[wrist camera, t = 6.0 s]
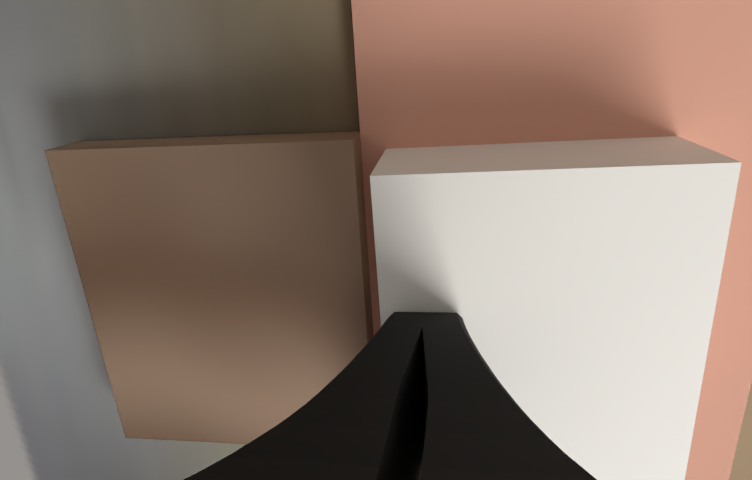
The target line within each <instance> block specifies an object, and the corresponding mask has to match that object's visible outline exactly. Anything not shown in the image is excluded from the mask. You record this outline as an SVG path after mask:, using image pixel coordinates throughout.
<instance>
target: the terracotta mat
mask: <svg viewBox="0 0 752 480" xmlns="http://www.w3.org/2000/svg"><path fill="white" fill-rule="evenodd" d="M351 5H352V20H353V35H354V50H355V65H356V80H357V95H358V110H359V125H360V140H361V155H362V170H363V185H364V200H365V215H366V230H367V245H368V260H369V275H370V290H371V305H372V319H373V334H374V335H375V334H376V332H377V331H378V330H379V329H380V328H381V319H380V306H379V292H378V279H377V266H376V252H375V239H374V226H373V212H372V199H371V185H370V175H371V173H372V171H373V170H374V168H375V166H376V165H377V163H378V161H379V160H380V158H381V156H382V155H383V153H384V151H385V150H386V149H392V148H415V147H438V146H460V145H483V144H505V143H528V142H551V141H573V140H596V139H618V138H641V137H664V136H679V137H682V138H684V139H686V140H689V141H691V142H694V143H696V144H698V145H701V146H703V147H706V148H708V149H711V150H713V151H715V152H718V153H720V154H723V155H725V156H727V157H730V158H732V159H735V160H737V161H740V162H742V163H741V169H740V174H739V180H738V185H737V191H736V196H735V202H734V208H733V213H732V219H731V224H730V230H729V235H728V241H727V247H726V252H725V258H724V263H723V269H722V274H721V280H720V286H719V291H718V297H717V302H716V308H715V313H714V319H713V325H712V330H711V336H710V341H709V347H708V352H707V358H706V364H705V369H704V375H703V380H702V386H701V391H700V397H699V403H698V408H697V414H696V419H695V425H694V430H693V436H692V442H691V447H690V453H689V458H688V464H687V469H686V475H685V480H729V476H730V472H731V468H732V463H733V459H734V455H735V451H736V446H737V442H738V438H739V434H740V429H741V425H742V421H743V417H744V412H745V408H746V404H747V400H748V395H749V391H750V387H751V383H752V0H351Z"/></svg>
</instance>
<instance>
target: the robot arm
mask: <svg viewBox="0 0 752 480" xmlns="http://www.w3.org/2000/svg"><path fill="white" fill-rule="evenodd" d="M184 480H597V479H596V478H594V477H593V476H592V475H591V474H589V473H588V472H587V471H586V470H585V469H583V468H582V467H581V466H580V465H579V464H577V463H576V462H575V461H574V460H573V459H571V458H570V457H569V456H568V455H567V454H565V453H564V452H563V451H562V450H561V449H560V448H559V447H558V446H557V445H556V444H555V443H554V442H553V441H552V440H551V439H549V438H548V437H547V435H546V434H545V433H544V432H543V431H542V430H541V429H540V428H539V427H538V426H537V425H536V424H535V423H534V422H533V421H532V420H531V419H530V418H529V417H528V416H527V414H526V413H525V412H524V411H523V410H522V409H521V408H520V407H519V405H518V404H517V403H516V402H515V401H514V399H513V398H512V397H511V396H510V394H509V393H508V392H507V391H506V389H505V388H504V387H503V386H502V384H501V383H500V382H499V380H498V379H497V378H496V376H495V375H494V373H493V372H492V370H491V369H490V367H489V366H488V364H487V363H486V362H485V360H484V359H483V357H482V356H481V354H480V352H479V351H478V349H477V347H476V346H475V344H474V342H473V340H472V339H471V337H470V335H469V333H468V331H467V329H466V326H465V324H464V321H463V318H462V317H461V316H460V315H459V314H458V313H450V312H394V313H393V314H391V315H390V316H389V317H388V319H387V320H386V321H385V322H384V324H383V325H382V326H381V328H380V329H379V330H378V331H377V332H376V334H375V335H374V336H373V337H372V338H371V340H370V341H369V342H368V343H367V344H366V345H365V347H364V348H363V349H362V350H361V351H360V352H359V353H358V354H357V355H356V356H355V357H354V359H353V360H352V361H351V362H350V363H349V364H348V365H347V366H346V367H345V368H344V369H343V370H342V371H341V372H340V373H339V374H338V375H337V376H336V377H335V378H334V379H333V380H332V381H331V382H329V383H328V384H327V385H326V386H325V387H324V388H323V389H322V390H321V391H320V392H319V393H318V394H317V395H315V396H314V397H313V398H312V399H311V400H310V401H308V402H307V403H306V404H305V405H303V406H302V407H301V408H299V409H298V410H297V411H296V412H294V413H293V414H292V415H290V416H289V417H288V418H286V419H285V420H284V421H282V422H281V423H279V424H278V425H276V426H275V427H273V428H272V429H270V430H269V431H267V432H265V433H264V434H262V435H261V436H259V437H258V438H256V439H254V440H253V441H251V442H250V443H248V444H247V445H245V446H243V447H242V448H240V449H239V450H237V451H236V452H234V453H232V454H231V455H229V456H227V457H225V458H224V459H222V460H220V461H218V462H216V463H215V464H213V465H211V466H209V467H207V468H205V469H204V470H202V471H200V472H198V473H196V474H194V475H192V476H190V477H188V478H186V479H184Z"/></svg>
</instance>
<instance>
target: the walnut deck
mask: <svg viewBox="0 0 752 480" xmlns="http://www.w3.org/2000/svg"><path fill="white" fill-rule="evenodd" d="M45 153H46V157H47V160H48V164H49V167H50V171H51V174H52V178H53V181H54V185H55V189H56V192H57V196H58V199H59V203H60V206H61V210H62V213H63V217H64V221H65V224H66V228H67V231H68V235H69V238H70V242H71V245H72V249H73V252H74V256H75V260H76V263H77V267H78V270H79V274H80V277H81V281H82V284H83V288H84V291H85V295H86V299H87V302H88V306H89V309H90V313H91V316H92V320H93V323H94V327H95V330H96V334H97V338H98V341H99V345H100V348H101V352H102V355H103V359H104V362H105V366H106V370H107V373H108V377H109V380H110V384H111V387H112V391H113V394H114V398H115V401H116V405H117V409H118V412H119V416H120V419H121V423H122V426H123V430H124V433H125V437H126V438H142V439H161V440H180V441H199V442H218V443H237V444H248V443H250V442H251V441H253V440H254V439H256V438H258V437H259V436H261V435H262V434H264V433H265V432H267V431H269V430H270V429H272V428H273V427H275V426H276V425H278V424H279V423H281V422H282V421H284V420H285V419H286V418H288V417H289V416H290V415H292V414H293V413H294V412H296V411H297V410H298V409H299V408H301V407H302V406H303V405H305V404H306V403H307V402H308V401H310V400H311V399H312V398H313V397H314V396H315V395H317V394H318V393H319V392H320V391H321V390H322V389H323V388H324V387H325V386H326V385H327V384H328V383H329V382H331V381H332V380H333V379H334V378H335V377H336V376H337V375H338V374H339V373H340V372H341V371H342V370H343V369H344V368H345V367H346V366H347V365H348V364H349V363H350V362H351V361H352V360H353V359H354V357H355V356H356V355H357V354H358V353H359V352H360V351H361V350H362V349H363V348H364V347H365V345H366V344H367V343H368V342H369V341H370V340H371V338H372V337H373V336H374V334H373V319H372V305H371V290H370V275H369V260H368V245H367V230H366V215H365V200H364V185H363V170H362V155H361V140H360V131H343V132H315V133H288V134H261V135H234V136H207V137H180V138H153V139H125V140H98V141H79V142H75V143H72V144H68V145H64V146H61V147H57V148H53V149H49V150H46V151H45Z"/></svg>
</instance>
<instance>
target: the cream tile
mask: <svg viewBox="0 0 752 480" xmlns="http://www.w3.org/2000/svg"><path fill="white" fill-rule="evenodd" d="M741 163H742V162H740V161H737V160H735V159H732V158H730V157H727V156H725V155H723V154H720V153H718V152H715V151H713V150H711V149H708V148H706V147H703V146H701V145H698V144H696V143H694V142H691V141H689V140H686V139H684V138H682V137H679V136H664V137H641V138H618V139H596V140H573V141H551V142H528V143H505V144H483V145H460V146H438V147H415V148H392V149H386V150H385V151H384V153H383V155H382V156H381V158H380V160H379V161H378V163H377V165H376V166H375V168H374V170H373V171H372V173H371V175H370V185H371V199H372V212H373V226H374V239H375V252H376V266H377V279H378V292H379V306H380V319H381V326H382V325H383V324H384V322H385V321H386V320H387V319H388V317H389V316H390V315H391V314H393V313H394V312H450V313H458V314H459V315H460V316H461V317H462V318H463V321H464V324H465V326H466V329H467V331H468V333H469V335H470V337H471V339H472V340H473V342H474V344H475V346H476V347H477V349H478V351H479V352H480V354H481V356H482V357H483V359H484V360H485V362H486V363H487V364H488V366H489V367H490V369H491V370H492V372H493V373H494V375H495V376H496V378H497V379H498V380H499V382H500V383H501V384H502V386H503V387H504V388H505V389H506V391H507V392H508V393H509V394H510V396H511V397H512V398H513V399H514V401H515V402H516V403H517V404H518V405H519V407H520V408H521V409H522V410H523V411H524V412H525V413H526V414H527V416H528V417H529V418H530V419H531V420H532V421H533V422H534V423H535V424H536V425H537V426H538V427H539V428H540V429H541V430H542V431H543V432H544V433H545V434H546V435H547V437H548V438H549V439H551V440H552V441H553V442H554V443H555V444H556V445H557V446H558V447H559V448H560V449H561V450H562V451H563V452H564V453H565V454H567V455H568V456H569V457H570V458H571V459H573V460H574V461H575V462H576V463H577V464H579V465H580V466H581V467H582V468H583V469H585V470H586V471H587V472H588V473H589V474H591V475H592V476H593V477H594V478H596V479H597V480H685V475H686V469H687V464H688V458H689V453H690V447H691V442H692V436H693V430H694V425H695V419H696V414H697V408H698V403H699V397H700V391H701V386H702V380H703V375H704V369H705V364H706V358H707V352H708V347H709V341H710V336H711V330H712V325H713V319H714V313H715V308H716V302H717V297H718V291H719V286H720V280H721V274H722V269H723V263H724V258H725V252H726V247H727V241H728V235H729V230H730V224H731V219H732V213H733V208H734V202H735V196H736V191H737V185H738V180H739V174H740V169H741Z"/></svg>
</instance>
